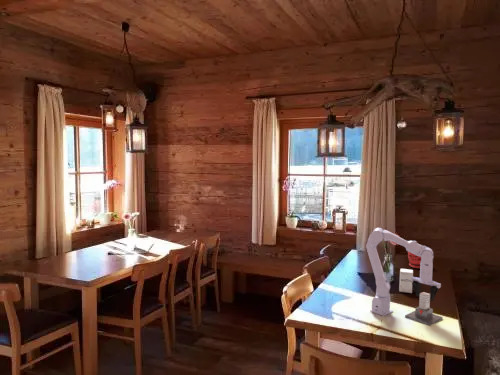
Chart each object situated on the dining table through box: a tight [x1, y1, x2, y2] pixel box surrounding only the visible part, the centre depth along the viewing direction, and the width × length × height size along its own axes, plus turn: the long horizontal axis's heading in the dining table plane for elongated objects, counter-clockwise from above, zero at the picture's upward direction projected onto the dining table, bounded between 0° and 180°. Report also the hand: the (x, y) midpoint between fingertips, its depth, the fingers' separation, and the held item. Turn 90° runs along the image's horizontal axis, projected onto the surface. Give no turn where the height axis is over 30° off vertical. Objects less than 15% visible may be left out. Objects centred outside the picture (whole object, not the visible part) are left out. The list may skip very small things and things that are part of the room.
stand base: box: [404, 306, 443, 327], centre depth 210 cm, size 13×13×5 cm
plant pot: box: [407, 251, 421, 269], centre depth 303 cm, size 13×13×12 cm
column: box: [418, 291, 431, 311], centre depth 209 cm, size 4×4×9 cm
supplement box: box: [398, 268, 414, 294], centre depth 251 cm, size 7×7×13 cm
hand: (424, 298), depth 209 cm, fingers open, 7 cm apart
